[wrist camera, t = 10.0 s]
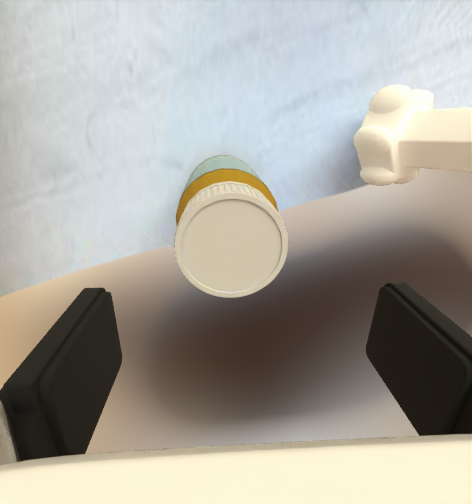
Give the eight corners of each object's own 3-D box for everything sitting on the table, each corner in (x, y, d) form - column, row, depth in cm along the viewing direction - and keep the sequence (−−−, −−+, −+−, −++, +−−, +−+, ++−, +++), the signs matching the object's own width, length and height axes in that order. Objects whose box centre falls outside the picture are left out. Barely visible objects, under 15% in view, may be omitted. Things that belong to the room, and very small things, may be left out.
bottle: (231, 139, 27) (250, 153, 14) (270, 199, 30) (319, 261, 16) (173, 182, 29) (137, 235, 15) (215, 236, 31) (217, 324, 17)
